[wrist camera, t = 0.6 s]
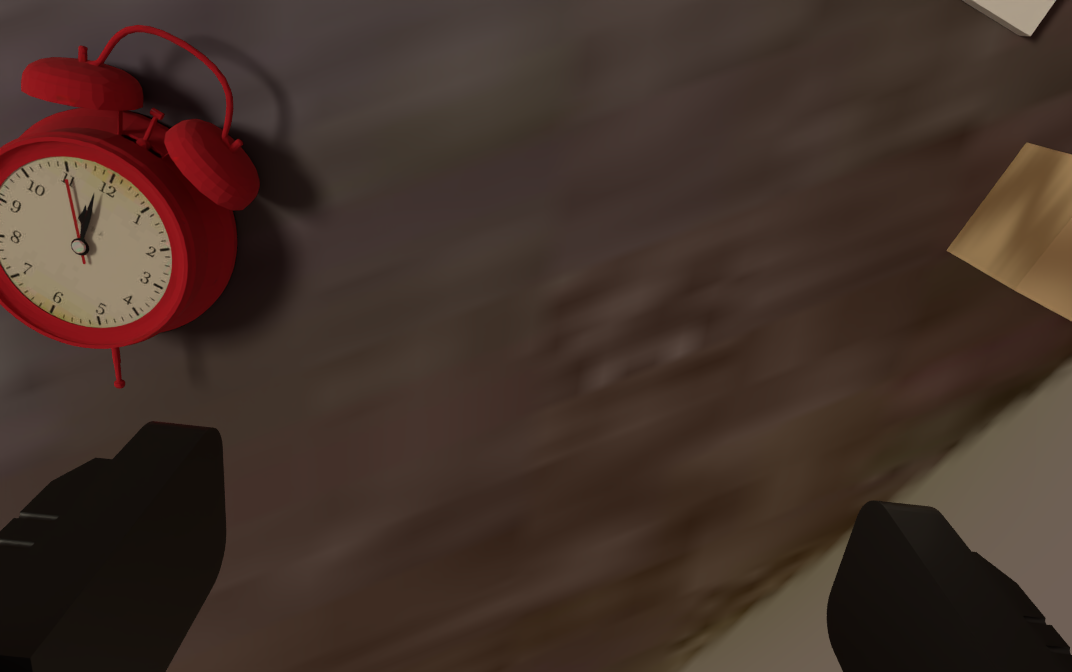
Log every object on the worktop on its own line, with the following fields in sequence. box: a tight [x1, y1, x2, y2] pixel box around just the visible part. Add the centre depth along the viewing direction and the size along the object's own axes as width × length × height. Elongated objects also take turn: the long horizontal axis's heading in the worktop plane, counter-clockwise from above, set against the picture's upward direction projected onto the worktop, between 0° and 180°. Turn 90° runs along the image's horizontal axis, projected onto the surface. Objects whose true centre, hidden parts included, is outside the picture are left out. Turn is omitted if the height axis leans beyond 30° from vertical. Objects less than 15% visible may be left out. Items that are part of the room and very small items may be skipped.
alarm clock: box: [0, 25, 260, 388], centre depth 33 cm, size 10×6×15 cm
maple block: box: [947, 143, 1072, 321], centre depth 33 cm, size 6×6×6 cm
